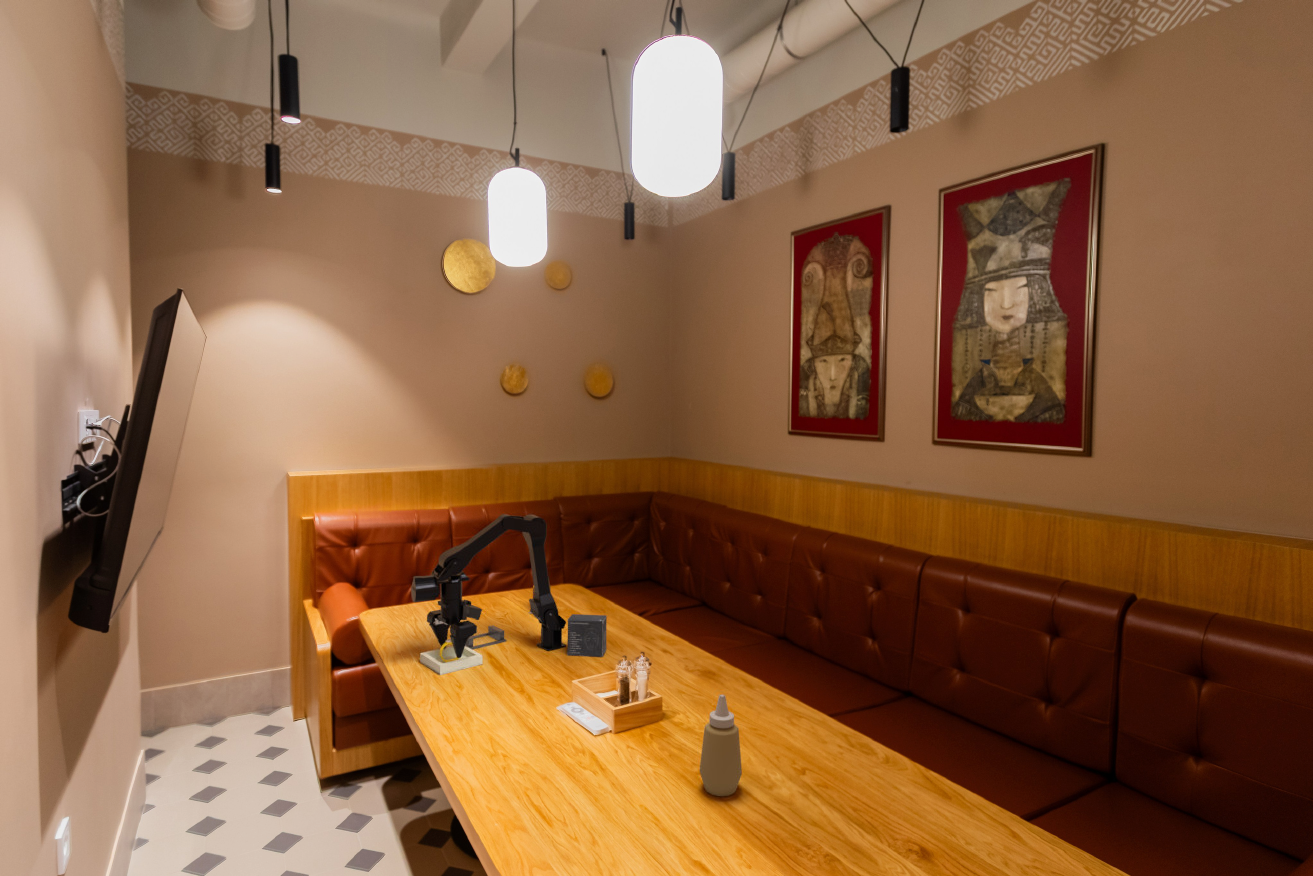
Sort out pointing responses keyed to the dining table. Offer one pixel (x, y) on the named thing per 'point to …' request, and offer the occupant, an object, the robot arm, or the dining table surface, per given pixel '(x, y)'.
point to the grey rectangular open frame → (492, 632)
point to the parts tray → (441, 667)
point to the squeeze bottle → (721, 752)
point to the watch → (443, 648)
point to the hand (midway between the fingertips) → (451, 653)
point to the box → (587, 635)
